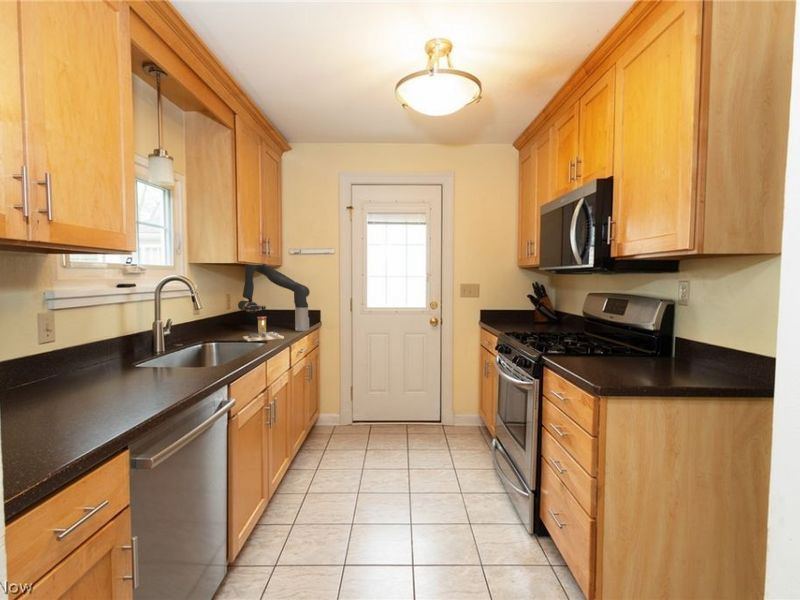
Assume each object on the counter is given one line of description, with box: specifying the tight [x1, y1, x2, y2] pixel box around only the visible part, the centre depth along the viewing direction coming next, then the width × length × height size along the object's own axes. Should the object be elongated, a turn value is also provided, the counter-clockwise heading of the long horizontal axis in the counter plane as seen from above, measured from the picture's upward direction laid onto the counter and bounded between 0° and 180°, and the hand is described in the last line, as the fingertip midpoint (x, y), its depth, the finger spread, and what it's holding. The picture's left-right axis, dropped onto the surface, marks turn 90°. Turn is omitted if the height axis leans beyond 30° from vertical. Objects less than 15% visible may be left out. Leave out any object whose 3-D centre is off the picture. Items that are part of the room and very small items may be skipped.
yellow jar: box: [257, 316, 268, 335], centre depth 267 cm, size 6×6×12 cm
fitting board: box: [242, 331, 285, 342], centre depth 254 cm, size 22×13×3 cm, turn 124°
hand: (257, 308), depth 276 cm, fingers open, 8 cm apart
